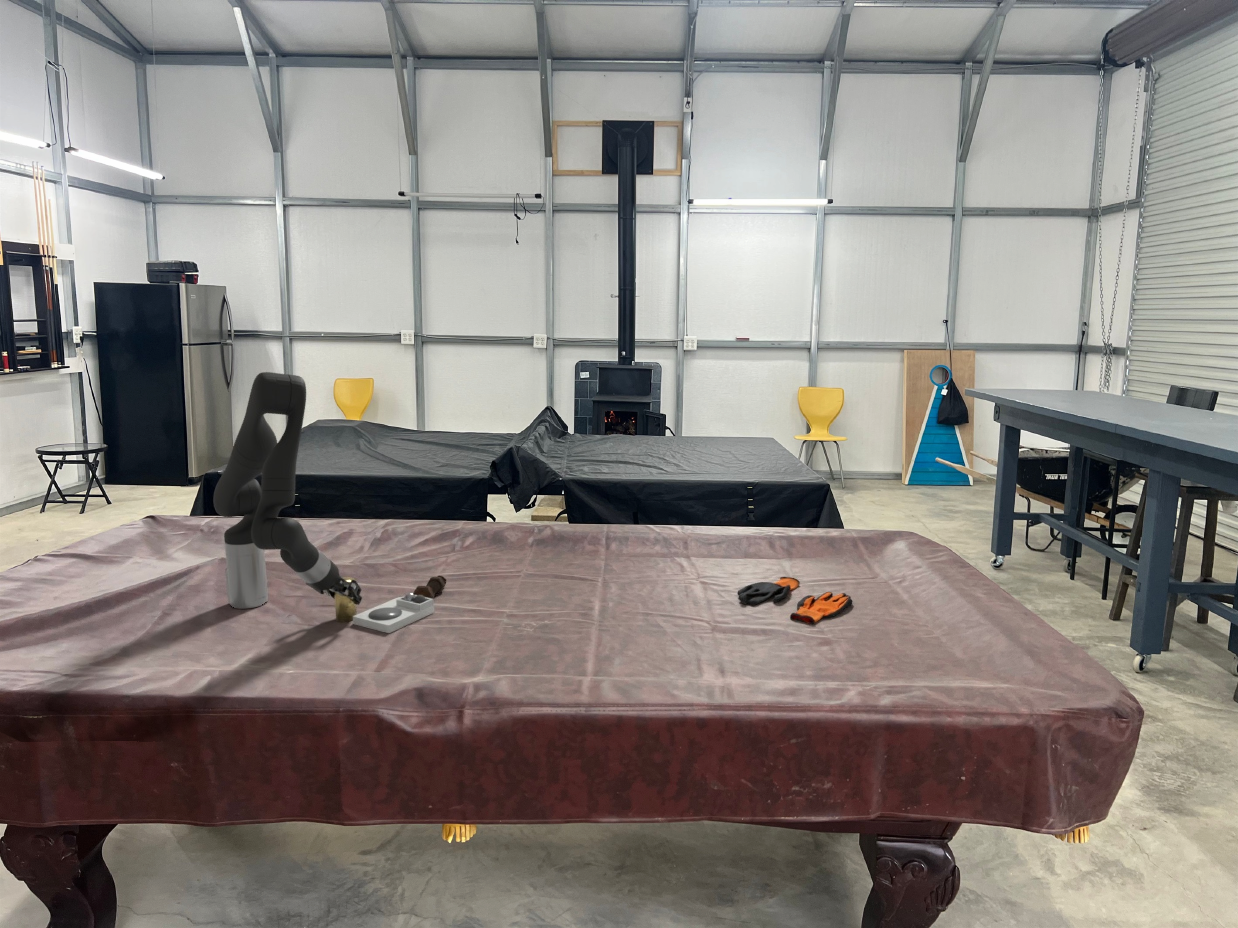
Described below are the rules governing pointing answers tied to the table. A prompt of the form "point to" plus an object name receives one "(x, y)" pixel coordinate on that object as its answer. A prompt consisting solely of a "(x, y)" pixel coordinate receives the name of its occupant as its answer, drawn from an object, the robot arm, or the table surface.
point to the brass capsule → (344, 606)
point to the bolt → (431, 587)
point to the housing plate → (394, 614)
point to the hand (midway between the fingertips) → (349, 599)
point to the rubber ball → (419, 599)
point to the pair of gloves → (806, 606)
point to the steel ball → (409, 597)
